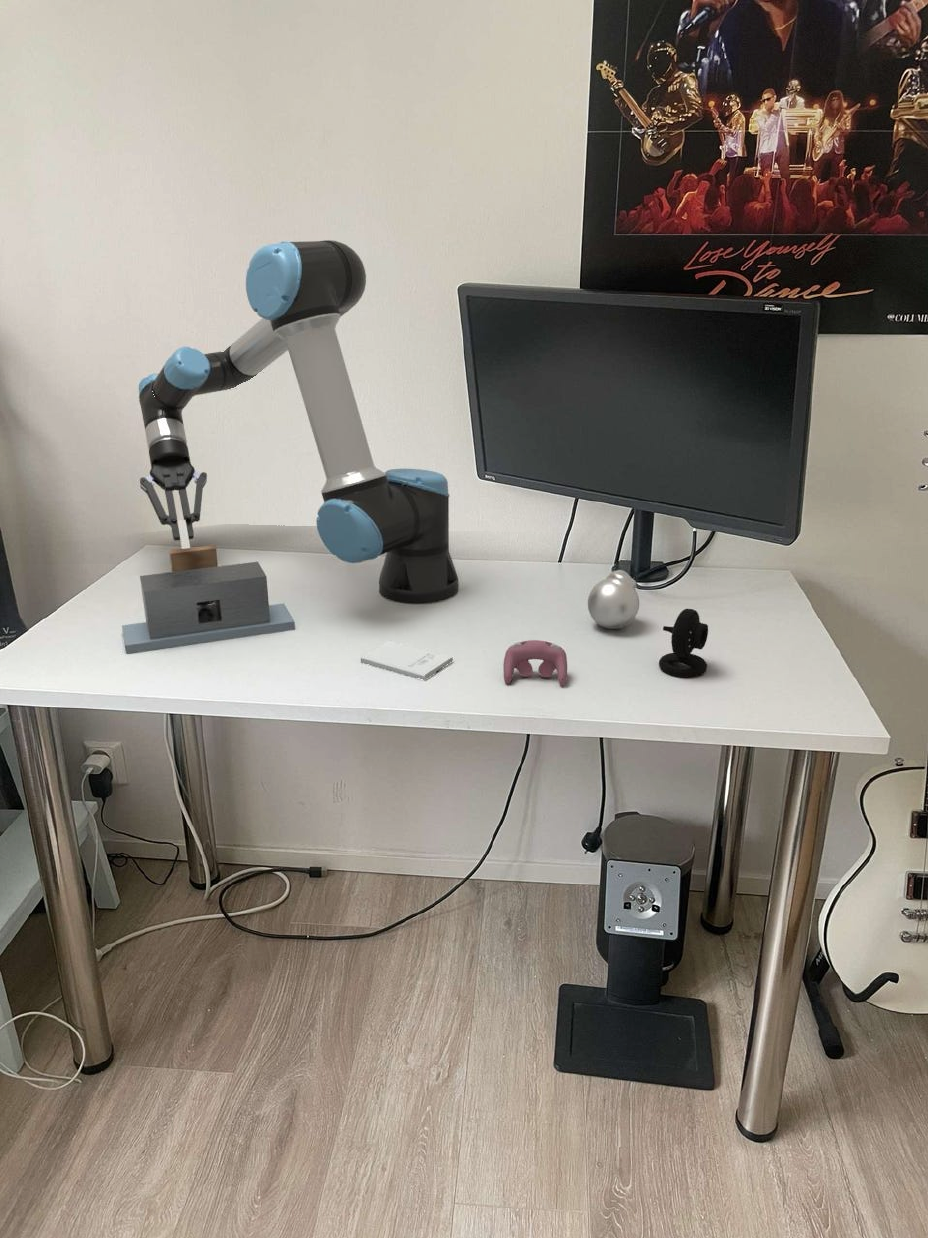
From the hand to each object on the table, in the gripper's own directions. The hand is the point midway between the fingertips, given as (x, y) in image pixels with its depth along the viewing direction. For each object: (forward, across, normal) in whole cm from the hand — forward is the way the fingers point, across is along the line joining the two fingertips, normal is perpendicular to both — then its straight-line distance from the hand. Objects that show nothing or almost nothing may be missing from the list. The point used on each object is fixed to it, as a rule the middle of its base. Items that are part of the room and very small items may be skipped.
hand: (186, 553), depth 191 cm
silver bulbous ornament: (+37, -67, +28) cm, 81 cm away
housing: (+21, -1, +11) cm, 24 cm away
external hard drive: (+39, -29, +28) cm, 56 cm away
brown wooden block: (+14, 0, +5) cm, 15 cm away
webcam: (+51, -69, +41) cm, 95 cm away
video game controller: (+47, -46, +38) cm, 76 cm away
